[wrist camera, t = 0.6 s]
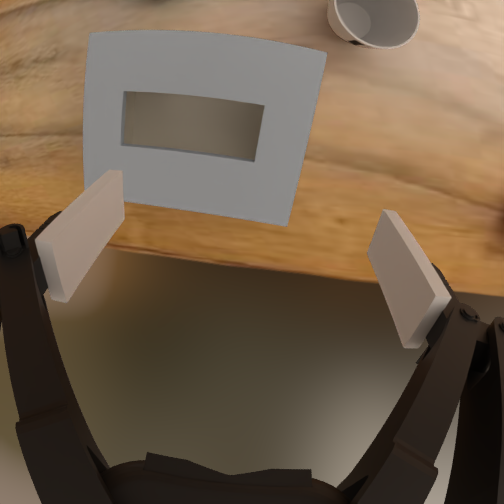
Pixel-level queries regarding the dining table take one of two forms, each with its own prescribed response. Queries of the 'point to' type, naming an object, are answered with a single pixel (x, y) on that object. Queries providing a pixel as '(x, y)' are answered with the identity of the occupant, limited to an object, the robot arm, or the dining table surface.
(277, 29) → the dining table surface
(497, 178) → the dining table surface
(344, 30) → the cup
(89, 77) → the box
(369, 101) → the dining table surface
